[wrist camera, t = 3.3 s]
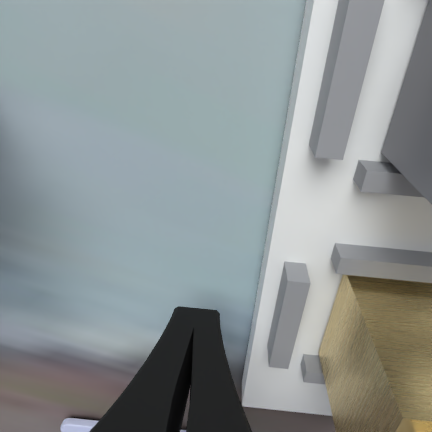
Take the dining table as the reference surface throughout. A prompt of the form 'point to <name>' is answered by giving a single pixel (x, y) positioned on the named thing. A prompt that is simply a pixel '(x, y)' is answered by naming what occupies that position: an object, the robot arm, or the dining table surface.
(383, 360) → the slider brass
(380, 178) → the control board
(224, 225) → the dining table surface
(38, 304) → the dining table surface
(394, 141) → the slider graphite
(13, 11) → the dining table surface
